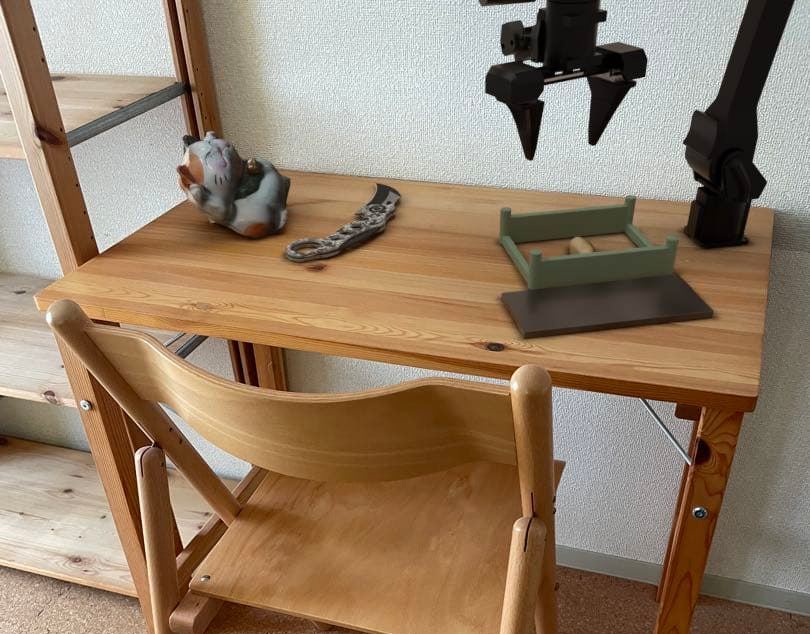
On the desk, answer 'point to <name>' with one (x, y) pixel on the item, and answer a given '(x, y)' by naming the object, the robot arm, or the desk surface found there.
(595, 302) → the board
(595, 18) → the robot arm
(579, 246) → the brazil nut
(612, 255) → the frame
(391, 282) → the desk surface
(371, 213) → the knife
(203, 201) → the lucky cat figurine
